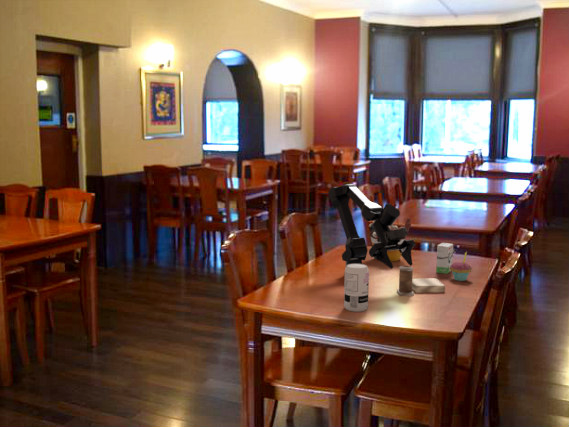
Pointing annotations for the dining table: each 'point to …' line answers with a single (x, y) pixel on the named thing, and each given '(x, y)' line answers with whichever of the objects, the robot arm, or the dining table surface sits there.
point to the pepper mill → (405, 281)
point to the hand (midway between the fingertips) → (402, 266)
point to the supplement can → (356, 287)
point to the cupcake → (460, 270)
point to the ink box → (444, 258)
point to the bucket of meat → (396, 254)
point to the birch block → (427, 285)
